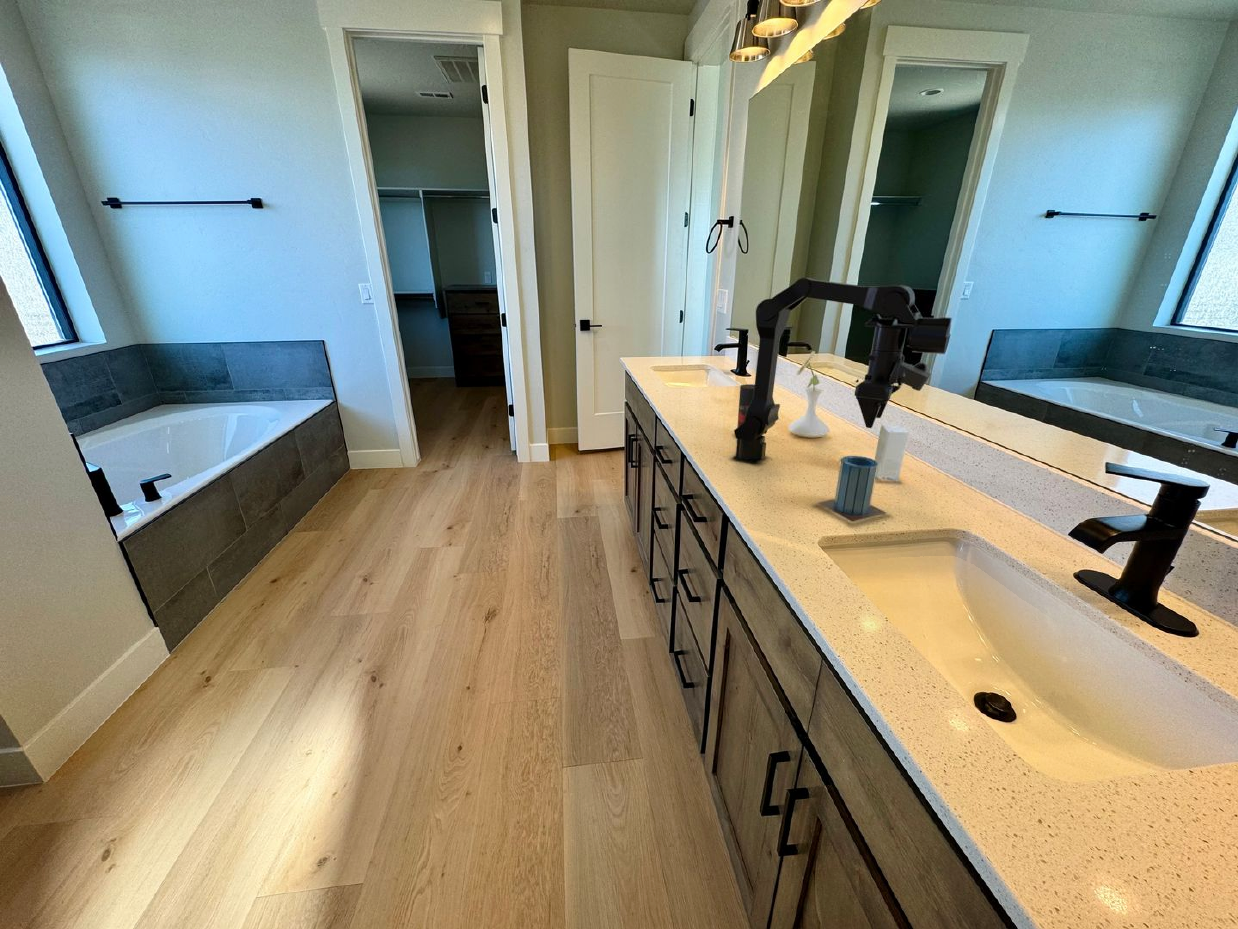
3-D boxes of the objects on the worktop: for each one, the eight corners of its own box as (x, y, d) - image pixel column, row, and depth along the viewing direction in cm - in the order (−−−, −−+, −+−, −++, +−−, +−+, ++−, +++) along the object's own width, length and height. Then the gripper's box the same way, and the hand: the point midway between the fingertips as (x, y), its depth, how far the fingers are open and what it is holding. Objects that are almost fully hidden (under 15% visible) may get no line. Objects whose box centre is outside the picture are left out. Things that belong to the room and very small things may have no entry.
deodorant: (759, 439, 143) (764, 388, 137) (738, 439, 143) (742, 388, 137) (754, 433, 148) (758, 384, 143) (734, 433, 148) (738, 384, 143)
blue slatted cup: (830, 509, 98) (837, 462, 95) (839, 498, 103) (846, 453, 100) (865, 517, 95) (873, 469, 91) (872, 506, 100) (881, 459, 96)
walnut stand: (817, 506, 102) (820, 480, 99) (849, 498, 105) (854, 473, 103) (851, 525, 94) (856, 497, 92) (886, 516, 97) (891, 489, 95)
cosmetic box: (898, 483, 112) (909, 433, 108) (878, 481, 113) (888, 432, 108) (890, 473, 118) (900, 425, 113) (871, 472, 118) (880, 424, 114)
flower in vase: (799, 427, 154) (809, 345, 145) (835, 434, 146) (848, 349, 137) (777, 436, 145) (786, 350, 136) (814, 444, 138) (826, 354, 129)
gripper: (926, 359, 90) (908, 440, 96) (937, 347, 104) (921, 418, 109) (860, 354, 96) (847, 430, 102) (879, 343, 110) (867, 411, 116)
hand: (873, 422), depth 107 cm, fingers open, 9 cm apart
